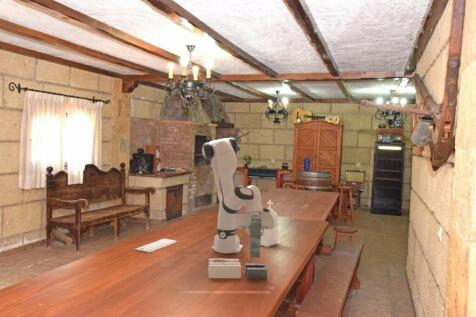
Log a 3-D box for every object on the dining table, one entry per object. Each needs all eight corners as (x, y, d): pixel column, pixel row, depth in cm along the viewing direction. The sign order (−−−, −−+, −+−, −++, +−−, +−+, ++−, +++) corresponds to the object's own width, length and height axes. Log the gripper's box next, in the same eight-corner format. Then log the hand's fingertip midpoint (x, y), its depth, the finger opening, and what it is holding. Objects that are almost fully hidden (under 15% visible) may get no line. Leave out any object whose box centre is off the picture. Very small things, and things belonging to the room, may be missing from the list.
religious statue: (252, 245, 276) (254, 201, 274) (260, 240, 288) (261, 198, 286) (276, 249, 269) (278, 203, 267) (283, 244, 281) (285, 200, 279)
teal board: (249, 256, 210) (251, 217, 209) (259, 256, 211) (260, 218, 210) (250, 257, 208) (251, 218, 207) (259, 257, 209) (261, 218, 208)
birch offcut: (224, 271, 216) (224, 260, 215) (233, 271, 216) (234, 260, 216) (224, 273, 213) (225, 261, 212) (234, 273, 213) (234, 261, 213)
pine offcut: (213, 271, 215) (214, 258, 215) (223, 271, 216) (223, 258, 215) (213, 273, 212) (214, 259, 212) (223, 273, 213) (224, 259, 212)
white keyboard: (178, 243, 274) (163, 240, 279) (179, 238, 274) (164, 236, 279) (150, 254, 246) (134, 251, 251) (150, 249, 246) (134, 246, 251)
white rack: (208, 271, 218) (208, 258, 217) (238, 271, 219) (238, 258, 219) (209, 279, 205) (209, 266, 204) (240, 280, 206) (241, 266, 206)
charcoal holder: (244, 274, 215) (245, 263, 215) (263, 274, 216) (263, 263, 216) (247, 281, 205) (247, 269, 204) (266, 281, 206) (267, 269, 206)
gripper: (235, 208, 215) (235, 231, 205) (273, 209, 216) (276, 232, 207) (234, 215, 219) (234, 238, 210) (272, 216, 221) (274, 238, 212)
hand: (255, 235), depth 208 cm, fingers closed on teal board, 5 cm apart
